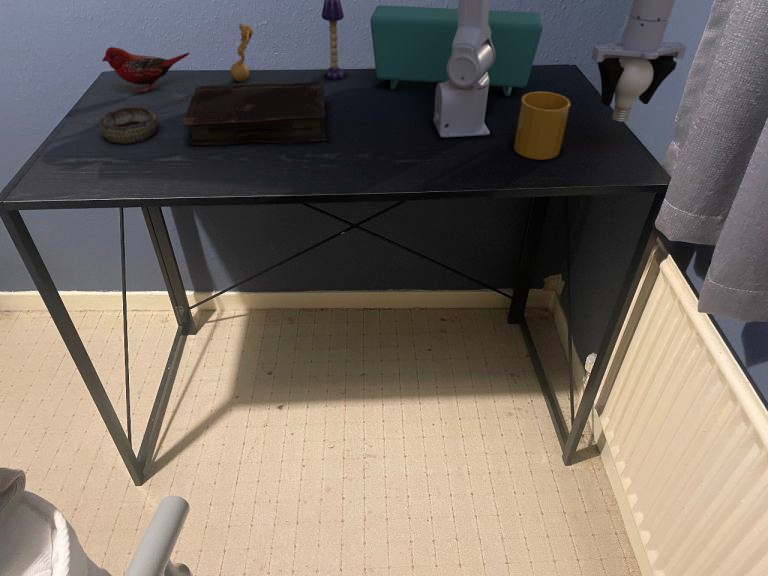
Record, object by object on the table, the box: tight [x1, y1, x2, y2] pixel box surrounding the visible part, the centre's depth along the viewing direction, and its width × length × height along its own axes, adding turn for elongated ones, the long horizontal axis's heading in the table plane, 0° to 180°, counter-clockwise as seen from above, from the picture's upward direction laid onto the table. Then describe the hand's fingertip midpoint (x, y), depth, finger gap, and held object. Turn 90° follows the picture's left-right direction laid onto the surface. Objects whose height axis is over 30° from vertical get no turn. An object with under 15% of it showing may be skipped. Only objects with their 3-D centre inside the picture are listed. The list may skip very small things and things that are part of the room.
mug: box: [513, 90, 572, 161], centre depth 102 cm, size 11×8×9 cm
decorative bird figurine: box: [101, 46, 191, 94], centre depth 121 cm, size 3×18×10 cm, turn 123°
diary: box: [182, 81, 327, 146], centre depth 110 cm, size 19×25×5 cm
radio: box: [369, 4, 544, 97], centre depth 121 cm, size 34×10×15 cm, turn 82°
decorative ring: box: [99, 106, 159, 145], centre depth 107 cm, size 10×3×10 cm
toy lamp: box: [321, 0, 345, 81], centre depth 125 cm, size 5×5×17 cm
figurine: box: [230, 23, 254, 83], centre depth 124 cm, size 8×6×12 cm
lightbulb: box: [611, 57, 654, 124], centre depth 95 cm, size 6×6×11 cm
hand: (624, 102), depth 96 cm, fingers closed on lightbulb, 6 cm apart
